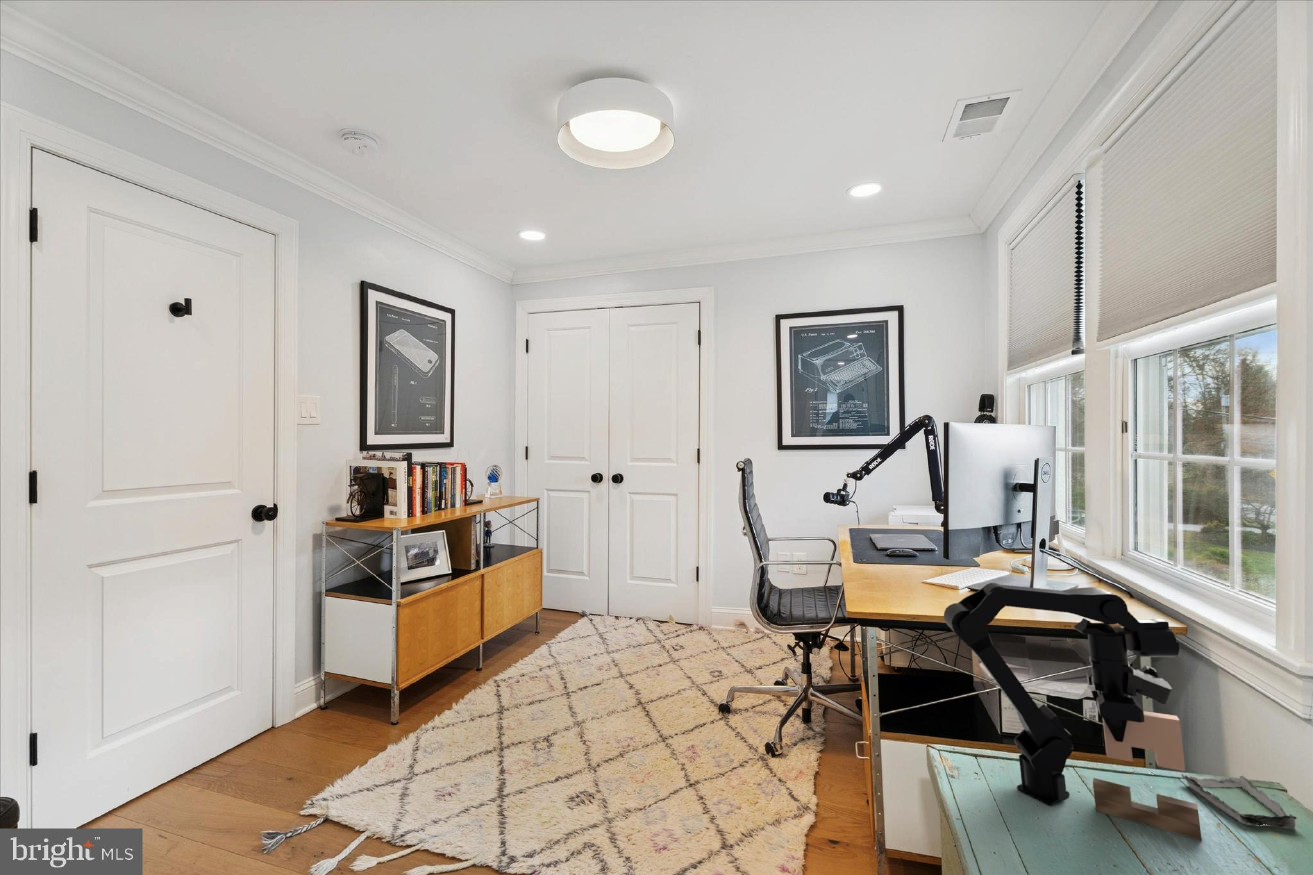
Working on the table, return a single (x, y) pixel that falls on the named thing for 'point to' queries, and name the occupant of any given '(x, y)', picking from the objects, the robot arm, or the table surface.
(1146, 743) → the crosspiece
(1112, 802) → the cross rail
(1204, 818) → the table surface
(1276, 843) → the table surface
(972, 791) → the table surface
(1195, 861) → the table surface
